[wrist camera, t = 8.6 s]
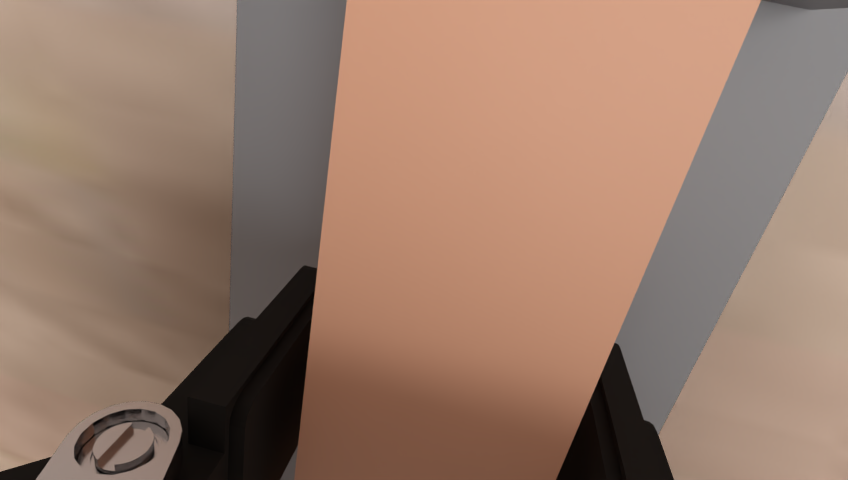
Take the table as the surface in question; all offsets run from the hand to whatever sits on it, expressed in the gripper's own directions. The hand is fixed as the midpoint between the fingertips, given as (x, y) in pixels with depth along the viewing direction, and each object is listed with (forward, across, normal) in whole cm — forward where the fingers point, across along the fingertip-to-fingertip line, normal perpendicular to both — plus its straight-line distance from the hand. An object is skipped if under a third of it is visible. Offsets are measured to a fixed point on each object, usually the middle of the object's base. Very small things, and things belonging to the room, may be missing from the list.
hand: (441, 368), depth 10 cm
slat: (+2, 0, 0) cm, 2 cm away
